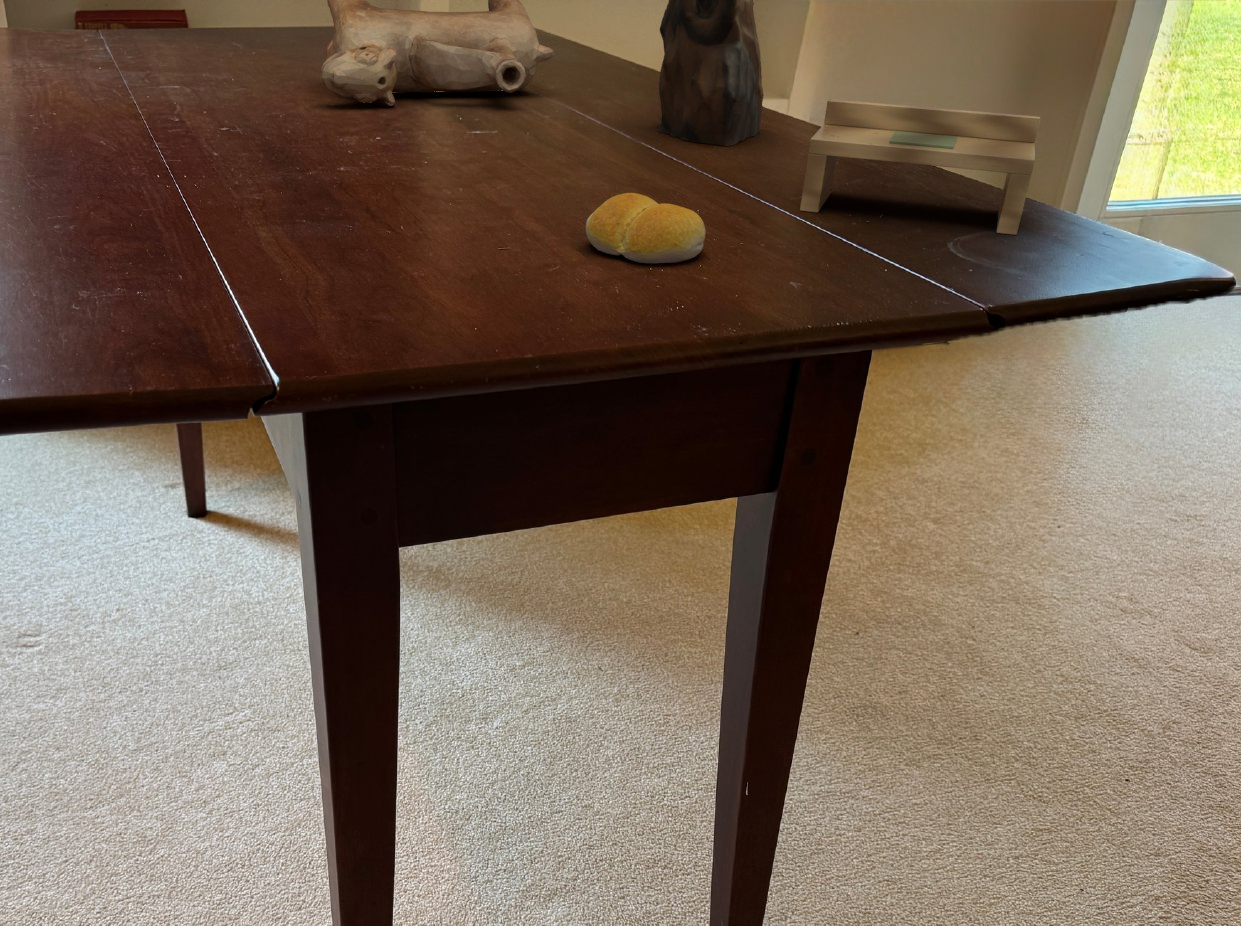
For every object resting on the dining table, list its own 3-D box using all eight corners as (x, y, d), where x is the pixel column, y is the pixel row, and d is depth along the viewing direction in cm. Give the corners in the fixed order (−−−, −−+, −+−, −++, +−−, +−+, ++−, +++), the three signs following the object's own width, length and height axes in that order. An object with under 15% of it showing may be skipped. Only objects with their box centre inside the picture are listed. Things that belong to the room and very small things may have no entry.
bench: (1017, 211, 102) (1040, 116, 98) (1016, 235, 95) (1041, 133, 91) (815, 190, 107) (828, 99, 103) (799, 211, 100) (814, 113, 96)
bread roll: (667, 273, 83) (672, 217, 80) (569, 249, 87) (571, 195, 85) (726, 250, 88) (732, 197, 86) (630, 229, 93) (634, 178, 91)
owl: (731, 149, 123) (755, -63, 113) (624, 136, 128) (637, -69, 118) (765, 131, 133) (790, -65, 123) (664, 120, 138) (680, -70, 127)
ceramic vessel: (305, -39, 147) (328, 7, 128) (534, -13, 156) (587, 33, 137) (303, 67, 155) (324, 124, 136) (521, 86, 164) (569, 142, 145)
